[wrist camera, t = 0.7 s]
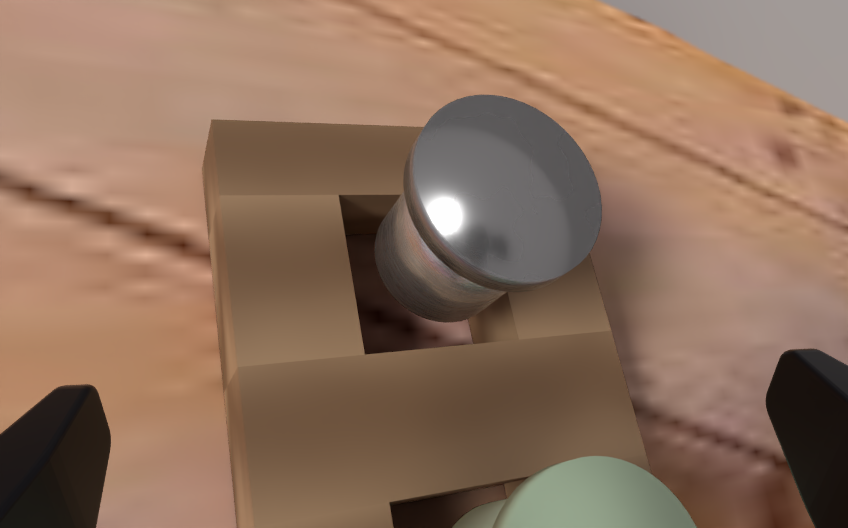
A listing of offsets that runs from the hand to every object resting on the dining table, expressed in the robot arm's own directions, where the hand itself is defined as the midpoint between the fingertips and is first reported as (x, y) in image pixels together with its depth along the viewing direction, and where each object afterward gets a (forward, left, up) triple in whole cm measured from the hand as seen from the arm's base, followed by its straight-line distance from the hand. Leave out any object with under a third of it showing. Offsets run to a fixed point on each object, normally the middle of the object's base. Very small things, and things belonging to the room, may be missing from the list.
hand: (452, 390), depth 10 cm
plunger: (+6, -5, -10) cm, 12 cm away
